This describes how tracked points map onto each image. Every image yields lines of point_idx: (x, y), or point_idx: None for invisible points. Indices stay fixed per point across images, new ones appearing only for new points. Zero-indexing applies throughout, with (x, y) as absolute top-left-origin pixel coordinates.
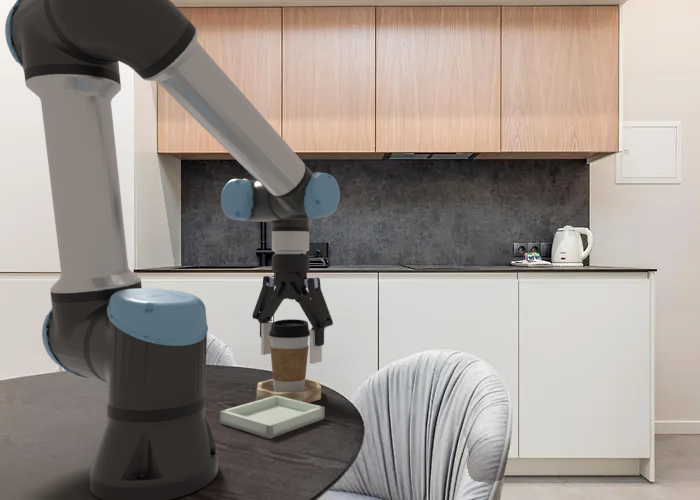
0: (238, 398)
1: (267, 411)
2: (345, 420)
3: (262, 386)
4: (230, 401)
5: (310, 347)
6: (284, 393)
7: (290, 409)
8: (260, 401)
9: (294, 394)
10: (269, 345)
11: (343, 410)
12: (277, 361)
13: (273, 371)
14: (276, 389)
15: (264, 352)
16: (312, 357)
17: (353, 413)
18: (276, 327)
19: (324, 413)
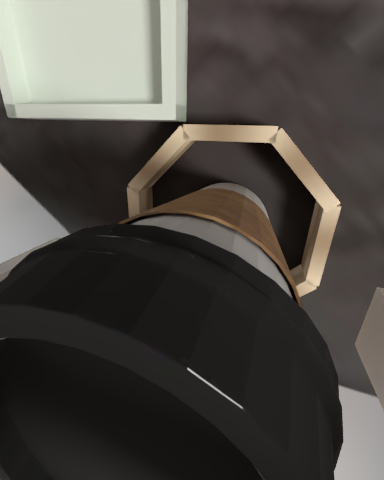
0: (360, 103)
1: (136, 25)
2: (4, 141)
3: (320, 208)
4: (364, 48)
5: (4, 268)
6: (162, 147)
7: (107, 96)
8: (161, 15)
9: (143, 168)
10: (382, 360)
11: (55, 198)
12: (196, 198)
13: (240, 198)
14: (232, 186)
15: (380, 300)
16: (35, 247)
17: (30, 192)
18: (80, 296)
19: (22, 118)
